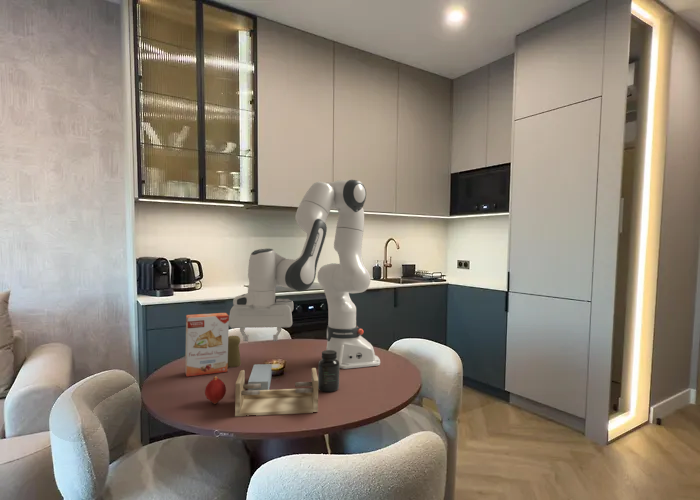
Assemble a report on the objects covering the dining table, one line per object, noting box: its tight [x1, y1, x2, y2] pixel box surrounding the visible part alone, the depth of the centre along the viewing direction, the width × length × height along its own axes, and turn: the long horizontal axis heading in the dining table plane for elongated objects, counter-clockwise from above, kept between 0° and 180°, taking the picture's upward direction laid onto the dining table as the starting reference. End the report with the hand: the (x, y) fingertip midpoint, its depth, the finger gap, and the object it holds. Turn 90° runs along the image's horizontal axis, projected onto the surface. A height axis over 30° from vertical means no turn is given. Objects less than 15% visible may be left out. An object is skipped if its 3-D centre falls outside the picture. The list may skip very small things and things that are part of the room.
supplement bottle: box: [317, 350, 340, 393], centre depth 128 cm, size 7×7×12 cm
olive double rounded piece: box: [228, 335, 242, 368], centre depth 150 cm, size 6×6×11 cm
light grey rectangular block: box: [247, 363, 273, 391], centre depth 128 cm, size 17×6×5 cm, turn 8°
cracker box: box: [184, 312, 230, 377], centre depth 141 cm, size 14×6×21 cm, turn 118°
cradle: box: [234, 367, 319, 417], centre depth 113 cm, size 22×11×9 cm, turn 99°
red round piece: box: [204, 376, 227, 405], centre depth 114 cm, size 6×6×8 cm
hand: (260, 340), depth 128 cm, fingers open, 8 cm apart
